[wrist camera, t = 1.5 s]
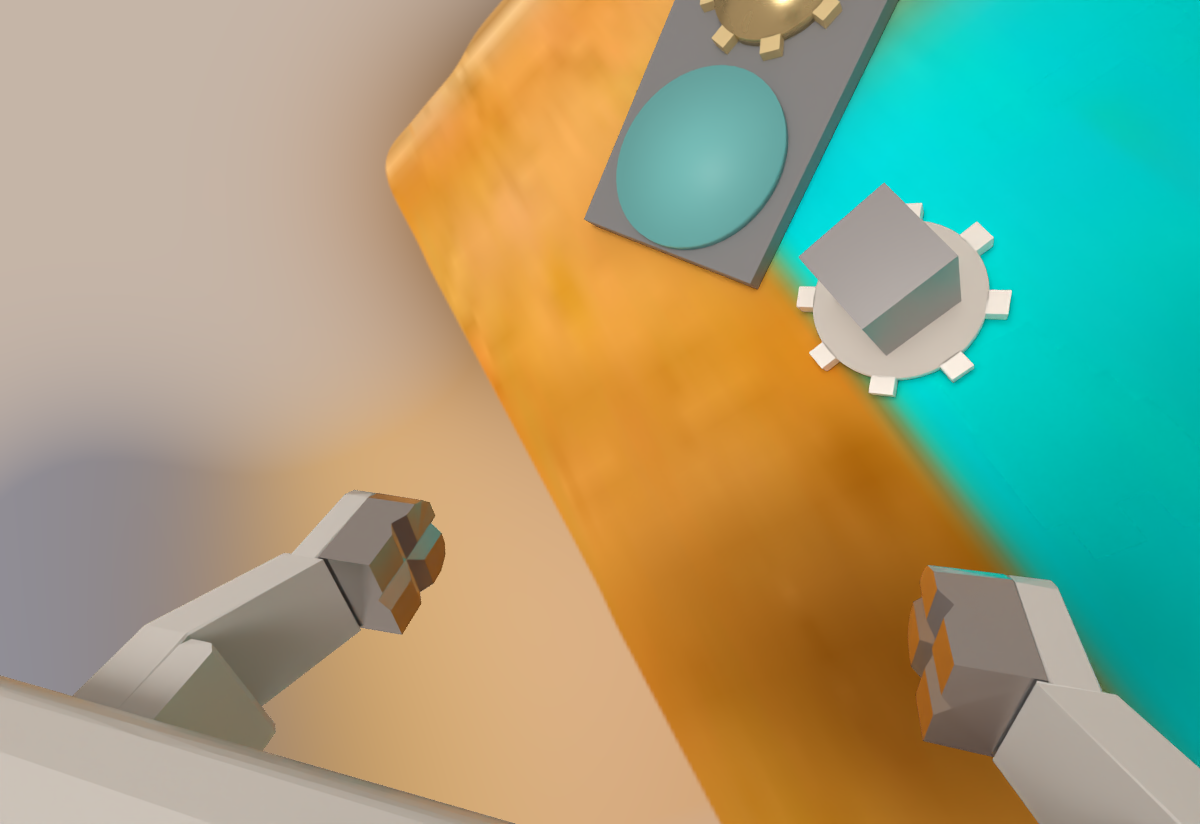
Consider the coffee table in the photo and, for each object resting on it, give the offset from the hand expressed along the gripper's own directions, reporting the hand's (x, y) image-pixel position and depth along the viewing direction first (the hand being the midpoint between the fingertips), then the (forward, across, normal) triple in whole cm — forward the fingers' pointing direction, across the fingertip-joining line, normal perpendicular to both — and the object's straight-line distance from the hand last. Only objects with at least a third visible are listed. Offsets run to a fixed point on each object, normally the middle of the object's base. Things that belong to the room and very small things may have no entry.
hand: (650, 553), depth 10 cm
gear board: (+39, +1, -2) cm, 39 cm away
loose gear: (+27, -8, +8) cm, 30 cm away
